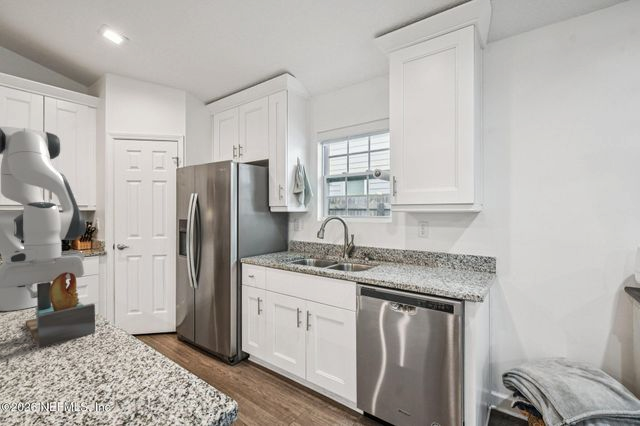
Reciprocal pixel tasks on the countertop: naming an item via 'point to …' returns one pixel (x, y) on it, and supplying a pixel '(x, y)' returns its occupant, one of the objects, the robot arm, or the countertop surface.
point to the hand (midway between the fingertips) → (44, 296)
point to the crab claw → (63, 292)
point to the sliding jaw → (45, 299)
